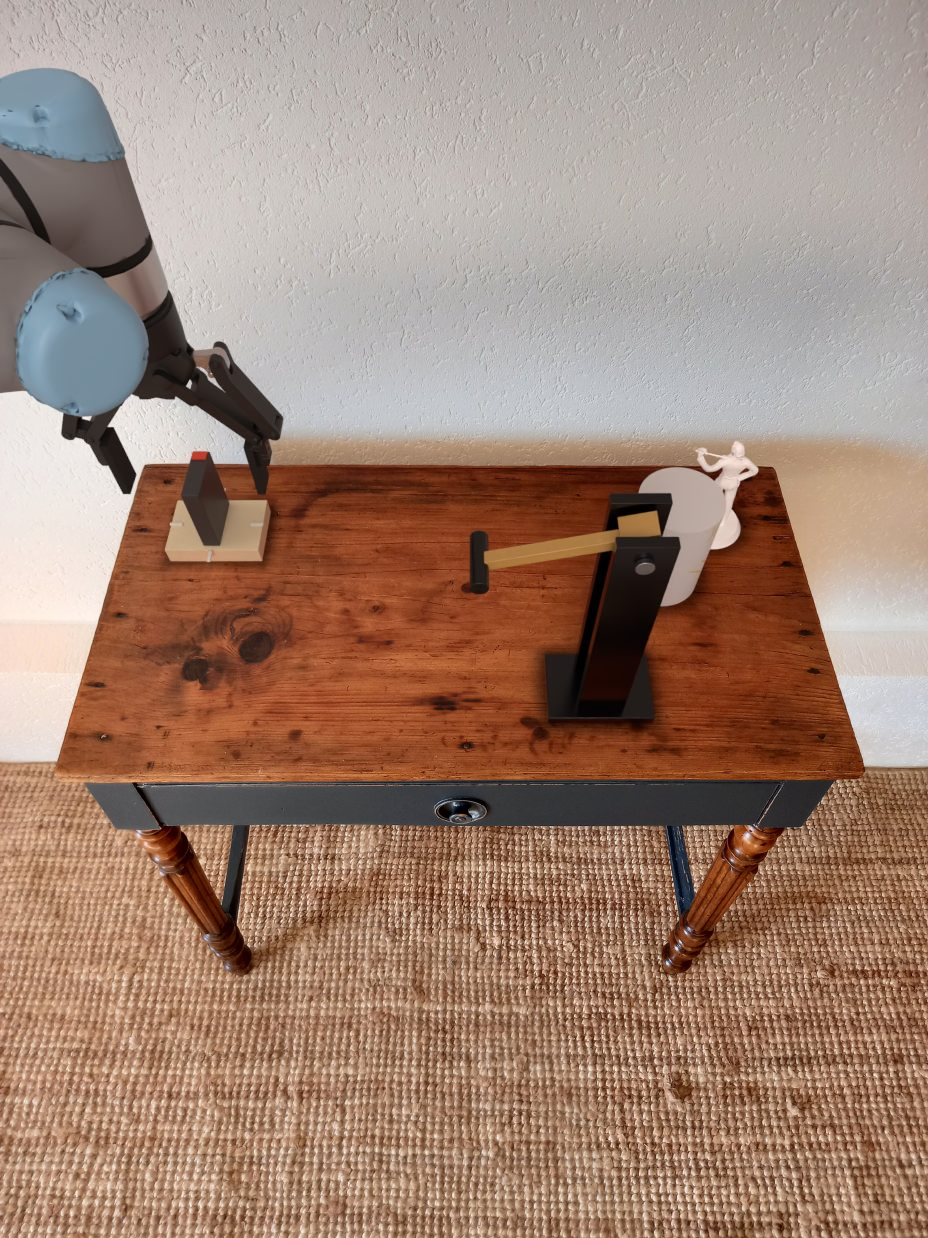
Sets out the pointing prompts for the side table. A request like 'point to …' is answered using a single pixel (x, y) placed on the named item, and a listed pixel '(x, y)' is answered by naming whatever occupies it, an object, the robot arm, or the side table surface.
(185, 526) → the plate
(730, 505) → the figurine
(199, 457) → the thumbturn
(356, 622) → the side table surface
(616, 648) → the latch bracket
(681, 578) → the light grey cylinder
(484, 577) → the latch lever
